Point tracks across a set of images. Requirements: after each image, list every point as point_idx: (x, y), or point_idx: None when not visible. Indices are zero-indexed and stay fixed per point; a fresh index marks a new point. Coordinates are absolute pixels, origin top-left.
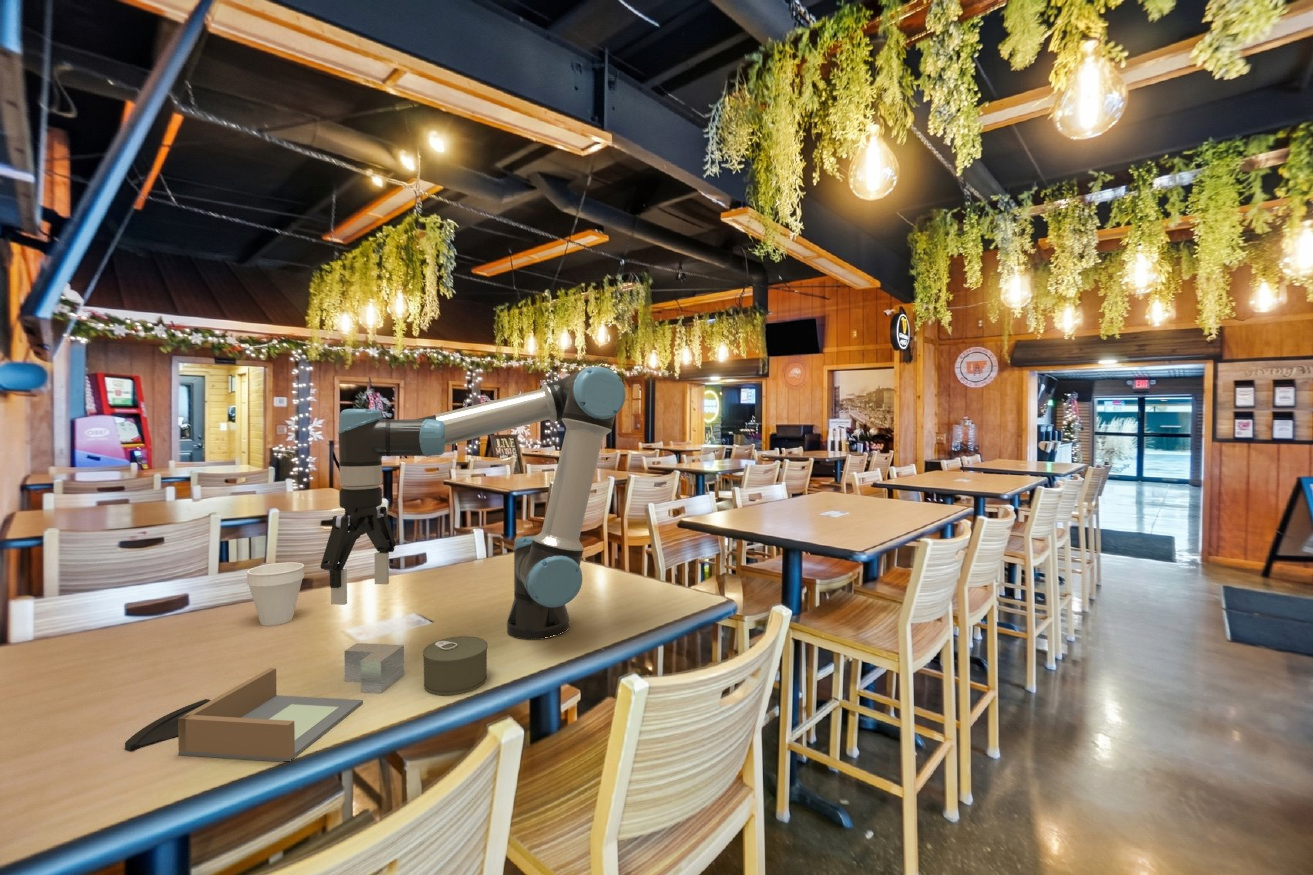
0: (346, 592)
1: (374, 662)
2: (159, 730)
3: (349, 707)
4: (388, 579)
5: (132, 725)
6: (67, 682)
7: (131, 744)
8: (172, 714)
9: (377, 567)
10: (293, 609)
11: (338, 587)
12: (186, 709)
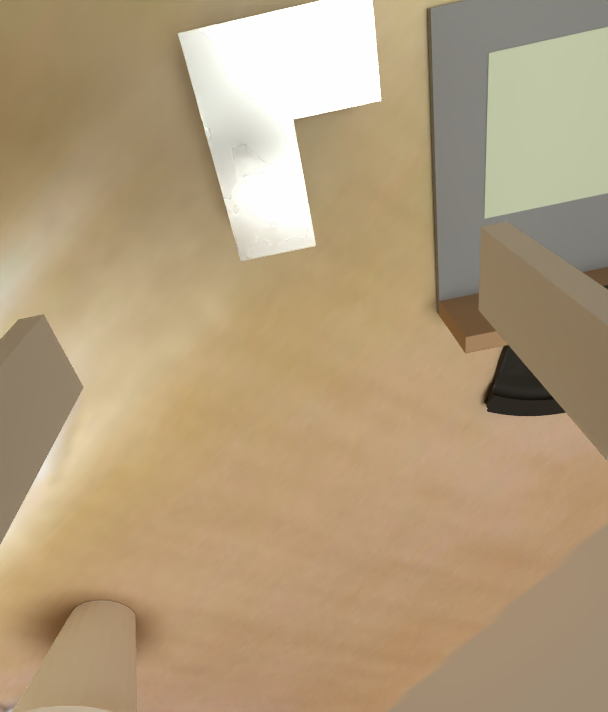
0: (522, 252)
1: (374, 27)
2: None
3: (484, 12)
4: (8, 334)
5: (563, 438)
6: (432, 623)
7: None
8: (551, 406)
9: (28, 449)
10: (71, 627)
11: (606, 287)
12: (530, 403)
